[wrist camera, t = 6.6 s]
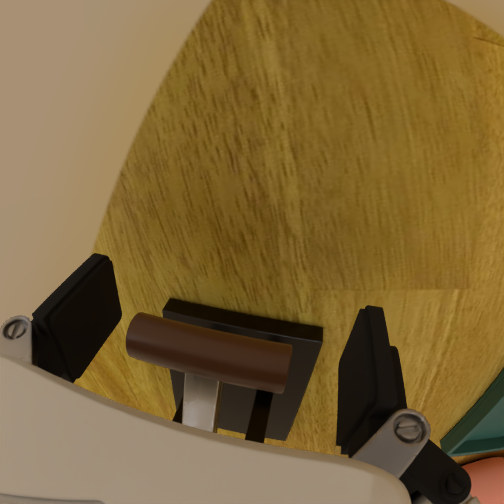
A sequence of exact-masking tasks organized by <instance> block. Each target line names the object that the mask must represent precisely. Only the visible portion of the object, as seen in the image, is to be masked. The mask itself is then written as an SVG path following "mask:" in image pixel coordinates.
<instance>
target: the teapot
mask: <svg viewBox="0 0 504 504" xmlns="http://www.w3.org/2000/svg"><path fill="white" fill-rule="evenodd" d="M461 467H462V468H464V469H465V470H466V472H467V473H468V474H469V476H470V478H471V484H472V486H471V491H470V494H471V496H472V497H475V496H476V497H477V498H478V500H479V502H480V503H481V504H504V458H503V457H493V458H488V459H483V460H480V461H476V462H473V463H470V464H467V465H464V466H461Z"/></svg>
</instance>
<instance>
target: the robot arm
mask: <svg viewBox="0 0 504 504" xmlns="http://www.w3.org/2000/svg"><path fill="white" fill-rule="evenodd" d="M32 316H33V318H34V319H33V320H32V321H30V319H29V318H27V317H25V316H15V317H12V318H10V319H8V320H7V321H6V322H5V323H4V324H3V325H2V327H1V329H0V504H481V503H480V502H479V500H478V498H477V497H476V496H475V497H472V496H471V494H470V491H471V486H472V484H471V478H470V476H469V474H468V473H467V472H466V470H465V469H464V468H462V467H461V466H460V465H459V464H458V463H456V462H455V461H454V460H453V459H452V458H451V457H449V456H448V455H447V454H446V453H445V452H444V451H442V450H441V449H440V448H439V447H438V446H437V445H435V444H434V443H433V442H432V441H431V440H430V439H429V437H430V431H431V429H430V425H429V422H428V421H427V419H426V417H425V416H423V415H422V414H421V413H420V412H418V411H416V410H413V409H407V403H406V396H405V389H404V382H403V376H402V370H401V364H400V358H399V353H398V349H397V348H396V347H395V346H390V344H389V338H388V332H387V327H386V322H385V316H384V311H383V308H382V307H375V306H369V305H367V306H366V307H365V309H360V310H359V313H358V315H357V318H356V321H355V323H354V326H353V329H352V331H351V334H350V336H349V339H348V341H347V344H346V346H345V349H344V351H343V354H342V356H341V358H340V362H339V368H338V414H337V437H336V445H337V446H341V454H342V455H348V458H346V457H342V456H337V455H331V454H324V453H318V452H312V451H305V450H298V449H292V448H286V447H280V446H274V445H269V444H264V443H259V442H253V441H248V440H244V439H239V438H234V437H230V436H226V435H222V434H217V433H213V432H209V431H206V430H202V429H198V428H195V427H191V426H187V425H184V424H180V423H177V422H174V421H170V420H167V419H164V418H161V417H158V416H155V415H152V414H149V413H146V412H143V411H140V410H137V409H134V408H132V407H129V406H126V405H124V404H121V403H118V402H116V401H113V400H111V399H108V398H105V397H103V396H101V395H98V394H96V393H93V392H91V391H89V390H86V389H84V388H82V387H79V386H77V385H75V384H73V383H74V381H75V380H76V378H77V379H78V378H80V377H81V376H82V374H83V373H84V371H85V370H86V368H87V367H88V365H89V364H90V362H91V361H92V360H93V358H94V357H95V355H96V354H97V352H98V351H99V350H100V348H101V347H102V345H103V344H104V342H105V341H106V340H107V338H108V337H109V335H110V334H111V333H112V331H113V330H114V328H115V327H116V326H117V324H118V323H119V322H120V320H121V317H122V311H121V306H120V301H119V296H118V291H117V286H116V280H115V275H114V269H113V263H112V261H111V260H110V259H109V257H108V256H106V255H101V254H97V253H94V254H93V255H91V256H90V257H89V258H88V259H87V260H86V261H85V262H84V263H83V264H82V265H81V266H80V267H79V268H78V269H77V270H75V271H74V272H73V273H72V274H71V275H70V276H69V277H68V278H67V279H66V280H65V281H64V282H63V283H62V284H61V285H60V286H59V287H58V288H57V289H56V290H55V291H54V292H53V293H52V294H51V295H50V296H49V297H48V298H47V299H46V300H45V301H44V302H43V303H42V304H41V305H40V306H39V307H38V308H37V309H36V310H35V312H34V313H33V314H32Z"/></svg>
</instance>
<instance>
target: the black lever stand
mask: <svg viewBox="0 0 504 504" xmlns="http://www.w3.org/2000/svg"><path fill="white" fill-rule="evenodd" d="M162 311H163V318H166V319H170V320H174V321H178V322H182V323H186V324H191V325H195V326H199V327H204V328H208V329H213V330H217V331H222V332H227V333H231V334H236V335H241V336H246V337H251V338H256V339H262V340H267V341H272V342H278V343H284V344H289V345H292V355H291V361H290V366H289V372H288V376H287V381H286V385H285V388H284V391H283V393H281V394H280V393H274V392H269V391H263V390H258V389H253V388H248V387H243V386H238V385H233V384H229V383H224V384H223V391H222V398H221V406H220V413H219V420H218V428H221V429H225V430H230V431H234V432H239V433H244V434H246V437H245V440H248V441H253V442H259V443H264V439H265V438H270V439H276V440H283V441H286V439H287V437H288V434H289V432H290V429H291V427H292V424H293V422H294V419H295V417H296V414H297V412H298V409H299V407H300V404H301V401H302V399H303V396H304V394H305V391H306V388H307V385H308V383H309V380H310V377H311V374H312V372H313V369H314V366H315V363H316V360H317V357H318V355H319V352H320V349H321V346H322V343H323V328H322V327H316V326H309V325H303V324H297V323H292V322H286V321H280V320H275V319H269V318H264V317H258V316H253V315H248V314H243V313H238V312H233V311H228V310H223V309H218V308H213V307H208V306H204V305H199V304H195V303H190V302H185V301H181V300H177V299H172V298H170V299H169V300H168V302H167V303H166V305H165V307H164V308H163V310H162ZM170 374H171V380H172V387H173V393H174V399H175V405H176V410H177V411H176V413H175V416H174V418H173V420H172V421H174V422H177V423H180V424H182V417H183V399H184V383H185V373H184V372H180V371H176V370H173V369H170Z"/></svg>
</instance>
